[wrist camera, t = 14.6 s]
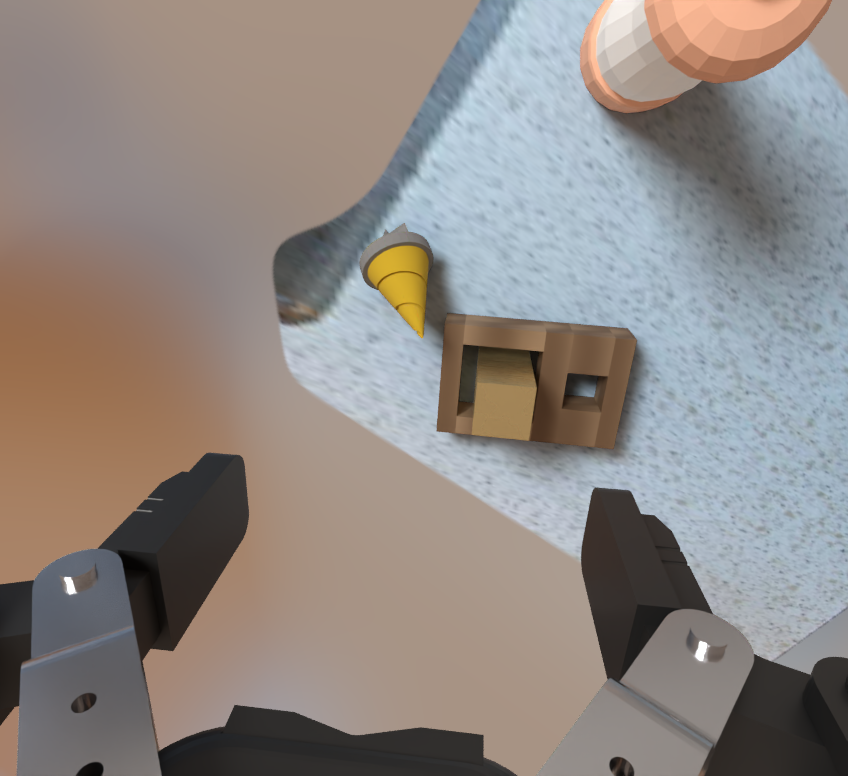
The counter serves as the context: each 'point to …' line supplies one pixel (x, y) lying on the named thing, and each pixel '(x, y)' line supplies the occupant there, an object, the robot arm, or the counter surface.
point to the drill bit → (400, 272)
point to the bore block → (545, 375)
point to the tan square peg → (503, 393)
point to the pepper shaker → (687, 45)
